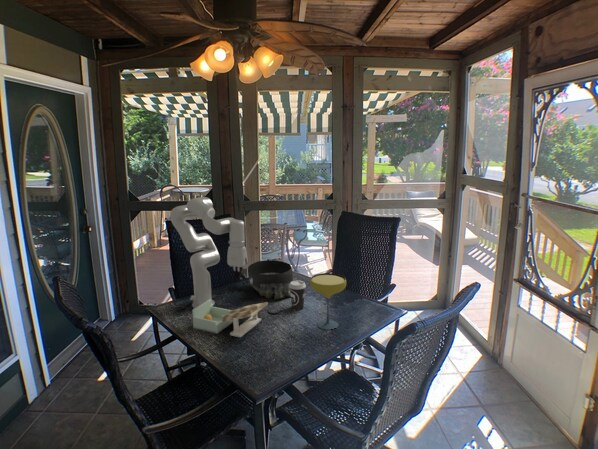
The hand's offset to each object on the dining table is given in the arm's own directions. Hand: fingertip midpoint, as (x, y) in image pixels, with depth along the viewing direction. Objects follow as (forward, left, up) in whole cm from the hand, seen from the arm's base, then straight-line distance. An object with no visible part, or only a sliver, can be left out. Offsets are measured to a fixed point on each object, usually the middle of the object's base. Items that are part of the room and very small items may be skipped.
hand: (238, 277), depth 199 cm
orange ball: (-12, -12, -20) cm, 26 cm away
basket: (-4, +41, -23) cm, 47 cm away
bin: (-8, -12, -23) cm, 27 cm away
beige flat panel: (+9, -8, -15) cm, 19 cm away
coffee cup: (+23, +24, -23) cm, 40 cm away
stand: (+9, -8, -23) cm, 26 cm away
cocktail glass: (+46, +11, -23) cm, 52 cm away
